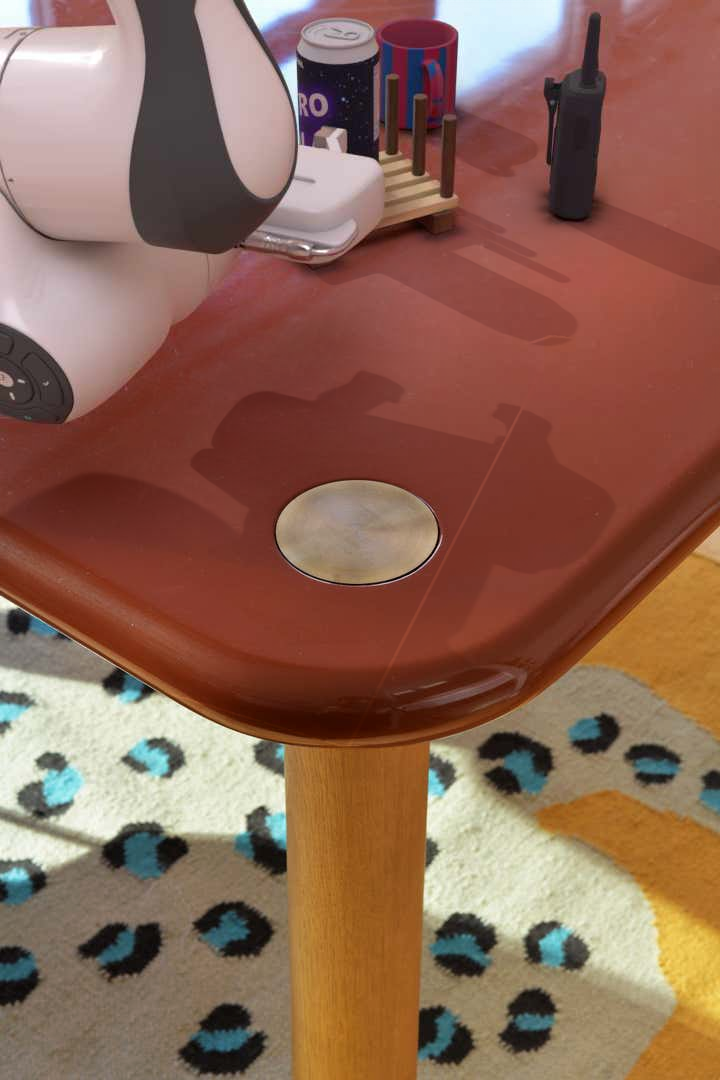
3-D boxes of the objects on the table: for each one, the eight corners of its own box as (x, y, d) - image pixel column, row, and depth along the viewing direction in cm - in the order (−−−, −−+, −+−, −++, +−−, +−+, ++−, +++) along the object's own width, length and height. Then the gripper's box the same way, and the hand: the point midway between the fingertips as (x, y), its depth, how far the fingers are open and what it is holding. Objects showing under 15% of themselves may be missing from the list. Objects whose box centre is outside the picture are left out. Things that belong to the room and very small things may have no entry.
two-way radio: (590, 226, 100) (615, 22, 90) (530, 221, 101) (548, 18, 91) (594, 191, 104) (618, -8, 94) (536, 186, 105) (554, -11, 95)
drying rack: (303, 271, 96) (299, 161, 90) (242, 212, 102) (235, 106, 97) (460, 227, 100) (466, 120, 95) (392, 173, 107) (394, 69, 101)
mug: (448, 95, 118) (451, 16, 113) (467, 146, 110) (471, 64, 106) (371, 98, 117) (371, 19, 113) (385, 150, 110) (386, 67, 105)
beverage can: (319, 172, 102) (315, 10, 94) (389, 184, 100) (392, 22, 92) (288, 205, 98) (281, 40, 90) (361, 219, 96) (361, 52, 88)
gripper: (333, 209, 70) (424, 104, 80) (-3, 142, 76) (119, 52, 86) (334, 313, 75) (421, 202, 84) (15, 243, 80) (130, 146, 90)
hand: (266, 125), depth 85 cm, fingers open, 8 cm apart
